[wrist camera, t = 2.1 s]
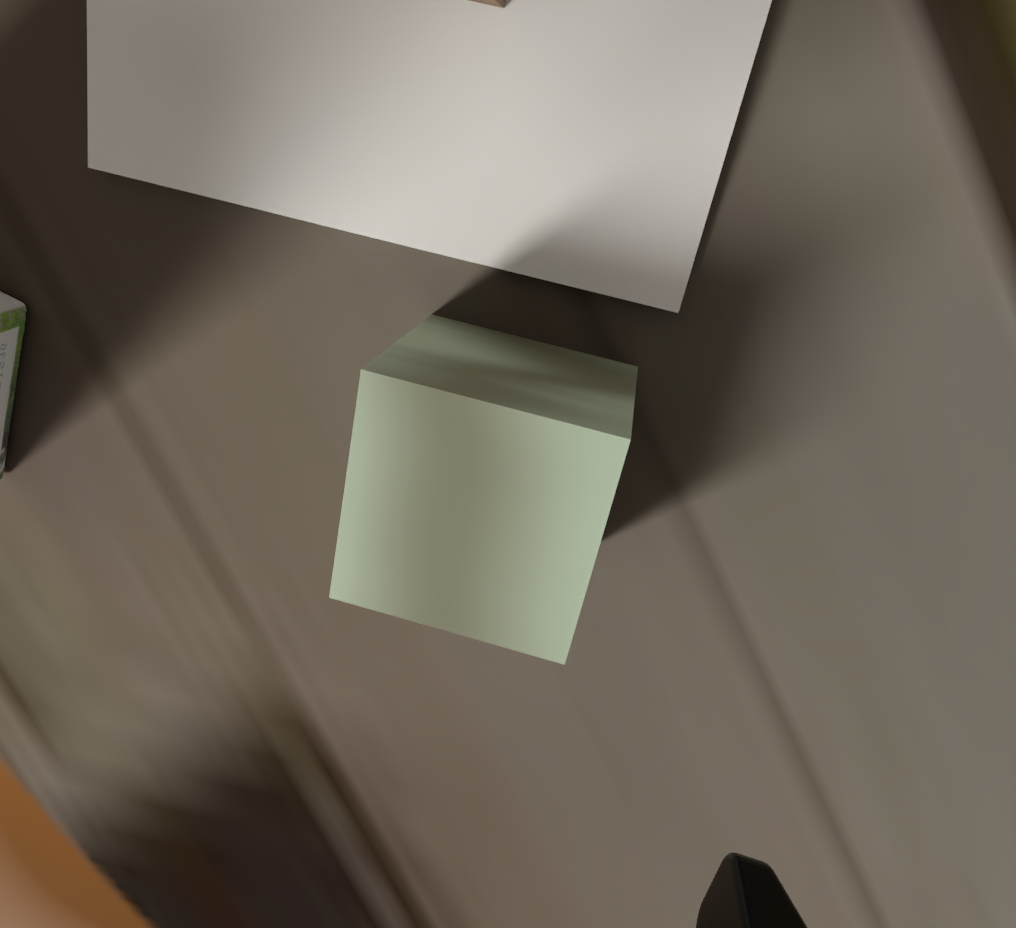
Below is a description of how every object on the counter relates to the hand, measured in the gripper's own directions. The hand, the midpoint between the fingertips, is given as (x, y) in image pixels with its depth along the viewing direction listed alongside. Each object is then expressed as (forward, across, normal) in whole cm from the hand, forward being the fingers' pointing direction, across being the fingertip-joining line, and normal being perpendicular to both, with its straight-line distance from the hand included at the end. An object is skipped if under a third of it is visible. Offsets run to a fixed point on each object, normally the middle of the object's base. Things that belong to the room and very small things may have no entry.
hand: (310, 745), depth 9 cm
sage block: (+12, 0, +1) cm, 12 cm away
